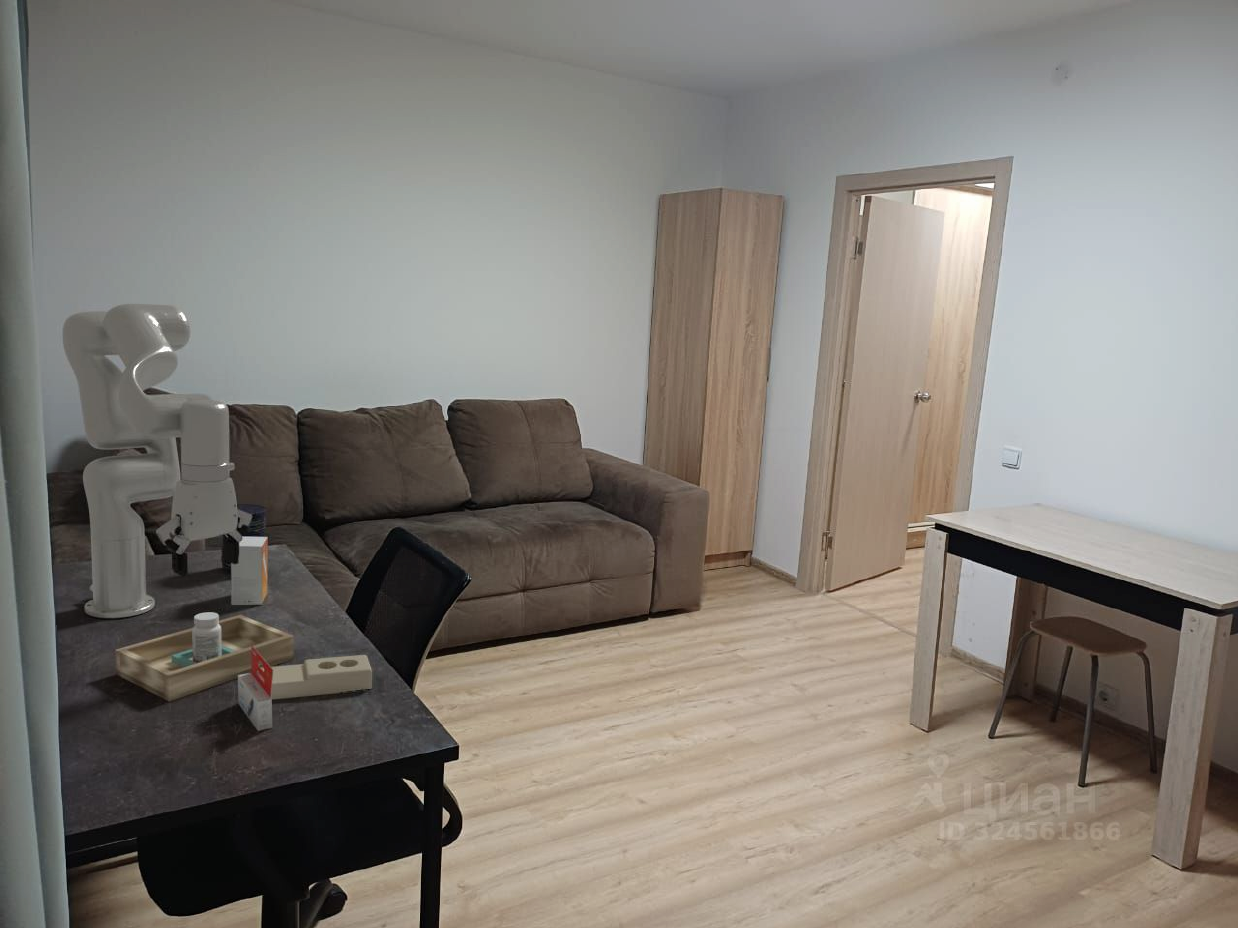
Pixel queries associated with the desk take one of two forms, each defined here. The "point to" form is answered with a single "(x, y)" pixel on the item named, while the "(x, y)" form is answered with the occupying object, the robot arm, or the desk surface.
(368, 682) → the beige stepped holder block
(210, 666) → the walled box
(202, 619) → the pill bottle
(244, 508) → the storage jar
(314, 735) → the desk surface
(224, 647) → the collar
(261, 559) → the small box
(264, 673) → the ink cartridge box
